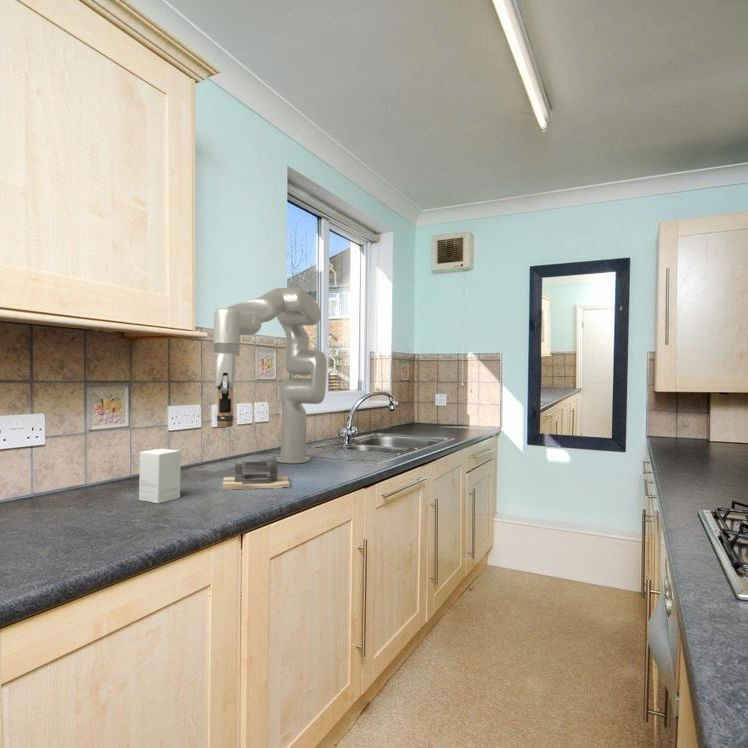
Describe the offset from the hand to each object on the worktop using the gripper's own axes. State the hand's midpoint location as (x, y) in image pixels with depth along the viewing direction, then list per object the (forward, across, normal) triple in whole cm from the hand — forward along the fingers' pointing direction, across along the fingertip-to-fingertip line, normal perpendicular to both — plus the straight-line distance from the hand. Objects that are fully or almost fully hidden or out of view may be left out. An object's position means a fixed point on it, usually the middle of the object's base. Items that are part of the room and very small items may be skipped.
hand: (225, 411), depth 149 cm
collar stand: (+22, 0, +9) cm, 24 cm away
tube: (+4, 0, 0) cm, 4 cm away
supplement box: (+22, +15, -15) cm, 31 cm away
